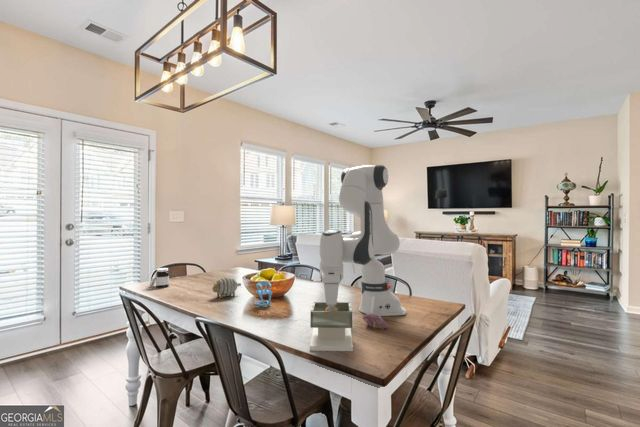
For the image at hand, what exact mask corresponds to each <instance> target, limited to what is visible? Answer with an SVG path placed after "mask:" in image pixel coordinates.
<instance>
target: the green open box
mask: <svg viewBox="0 0 640 427" xmlns="http://www.w3.org/2000/svg"><path fill="white" fill-rule="evenodd" d="M328 306H329V305H327V304H326V301H313V303H312V305H311V309H310V329H313V328H351V329H353V310H352V303H351V302H348V301H347V302H345V301H343V302H342V301H337V304H336V305H334V306H335V307H336V308H337V309H338V311H325V309H326V308H327V307H328Z"/></svg>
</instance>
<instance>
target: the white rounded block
mask: <svg viewBox="0 0 640 427" xmlns="http://www.w3.org/2000/svg"><path fill="white" fill-rule="evenodd" d="M154 285H155V286H156V288H158V289H161V288H168V287H170V272H169V267H161V268H156V274H155V275H154V276H152V278H151V279H150V281H149V286H150V287H154Z"/></svg>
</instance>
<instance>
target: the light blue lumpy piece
mask: <svg viewBox="0 0 640 427" xmlns="http://www.w3.org/2000/svg"><path fill="white" fill-rule="evenodd" d="M268 285H269V289H267V288H268ZM263 286H265V287H264V289H263ZM255 294H257V295H258V296H259V297H260V300H261V301H257V302H256V301H255V302H254V303H253V304H254V306H259V307H263V308H266V307H271V299H272V295H273V291H272V284H271V283H270V282H269V281H264V280H262V281H259V282H258V283H256V290H255ZM265 295H268V300H264V298H263V296H265ZM266 304H267V305H266Z"/></svg>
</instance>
